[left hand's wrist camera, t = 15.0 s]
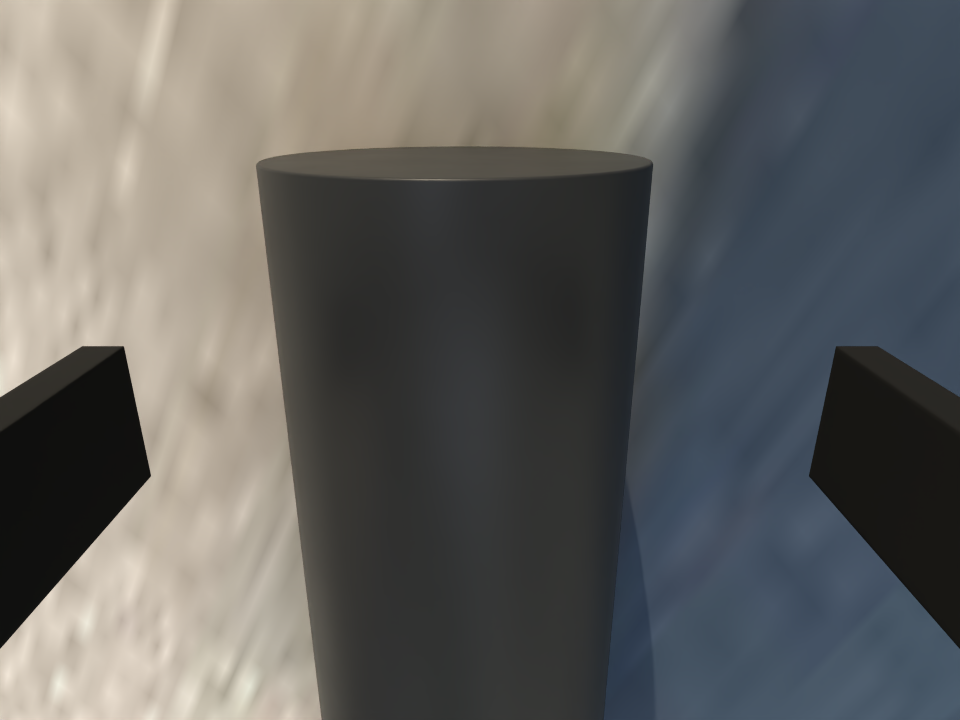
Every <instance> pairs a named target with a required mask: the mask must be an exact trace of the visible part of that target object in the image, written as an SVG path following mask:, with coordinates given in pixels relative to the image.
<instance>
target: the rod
mask: <svg viewBox="0 0 960 720" xmlns="http://www.w3.org/2000/svg"><path fill="white" fill-rule="evenodd" d="M256 169H257V177H258V186H259V194H260V203H261V211H262V220H263V228H264V236H265V245H266V253H267V262H268V270H269V279H270V287H271V296H272V304H273V312H274V321H275V329H276V338H277V346H278V355H279V363H280V371H281V380H282V388H283V397H284V405H285V414H286V422H287V430H288V439H289V447H290V456H291V464H292V473H293V481H294V490H295V498H296V506H297V515H298V523H299V532H300V540H301V549H302V557H303V565H304V574H305V582H306V591H307V599H308V608H309V616H310V624H311V633H312V641H313V650H314V658H315V667H316V675H317V684H318V692H319V700H320V709H321V717H322V720H603V718H604V707H605V696H606V684H607V673H608V662H609V651H610V640H611V629H612V617H613V606H614V595H615V584H616V573H617V562H618V550H619V539H620V528H621V517H622V506H623V495H624V483H625V472H626V461H627V450H628V439H629V428H630V416H631V405H632V394H633V383H634V372H635V360H636V349H637V338H638V327H639V316H640V305H641V293H642V282H643V271H644V260H645V249H646V238H647V226H648V215H649V204H650V193H651V182H652V171H653V163H652V161H651V160H649V159H646V158H643V157H639V156H634V155H628V154H621V153H612V152H602V151H589V150H574V149H554V148H525V147H402V148H373V149H352V150H335V151H321V152H309V153H299V154H291V155H283V156H277V157H272V158H268V159H264V160H262V161H259V162H258V163H257V165H256Z"/></svg>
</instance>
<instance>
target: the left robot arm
mask: <svg viewBox="0 0 960 720" xmlns="http://www.w3.org/2000/svg"><path fill="white" fill-rule="evenodd" d="M150 477H151V474H150V469H149V464H148V459H147V455H146V450H145V445H144V440H143V436H142V431H141V426H140V421H139V416H138V412H137V407H136V402H135V397H134V393H133V388H132V383H131V378H130V373H129V369H128V364H127V359H126V354H125V350H124V346H82V347H81V348H79V349H77V350H76V351H74V352H72V353H71V354H69V355H68V356H66V357H64V358H63V359H61V360H60V361H58V362H56V363H55V364H53V365H52V366H50V367H48V368H47V369H45V370H43V371H42V372H40V373H39V374H37V375H35V376H34V377H32V378H31V379H29V380H27V381H26V382H24V383H23V384H21V385H19V386H18V387H16V388H15V389H13V390H11V391H10V392H8V393H6V394H5V395H3V396H2V397H0V648H1V647H2V646H3V645H4V644H5V643H6V642H7V640H8V639H9V638H10V637H11V636H12V635H13V634H14V632H15V631H16V630H17V629H18V628H19V627H20V626H21V624H22V623H23V622H24V621H25V620H26V619H27V618H28V616H29V615H30V614H31V613H32V612H33V611H34V610H35V608H36V607H37V606H38V605H39V604H40V603H41V601H42V600H43V599H44V598H45V597H46V596H47V595H48V593H49V592H50V591H51V590H52V589H53V588H54V587H55V585H56V584H57V583H58V582H59V581H60V580H61V579H62V577H63V576H64V575H65V574H66V573H67V572H68V571H69V569H70V568H71V567H72V566H73V565H74V564H75V563H76V561H77V560H78V559H79V558H80V557H81V556H82V555H83V553H84V552H85V551H86V550H87V549H88V548H89V547H90V545H91V544H92V543H93V542H94V541H95V540H96V539H97V537H98V536H99V535H100V534H101V533H102V532H103V530H104V529H105V528H106V527H107V526H108V525H109V524H110V522H111V521H112V520H113V519H114V518H115V517H116V516H117V514H118V513H119V512H120V511H121V510H122V509H123V508H124V506H125V505H126V504H127V503H128V502H129V501H130V500H131V498H132V497H133V496H134V495H135V494H136V493H137V492H138V490H139V489H140V488H141V487H142V486H143V485H144V484H145V482H146V481H147V480H148V479H149V478H150ZM809 477H810V478H811V479H812V480H813V481H814V482H815V484H816V485H817V486H818V487H819V488H820V489H821V490H822V492H823V493H824V494H825V495H826V496H827V497H828V498H829V500H830V501H831V502H832V503H833V504H834V505H835V506H836V508H837V509H838V510H839V511H840V512H841V513H842V514H843V516H844V517H845V518H846V519H847V520H848V521H849V522H850V524H851V525H852V526H853V527H854V528H855V529H856V530H857V532H858V533H859V534H860V535H861V536H862V537H863V539H864V540H865V541H866V542H867V543H868V544H869V545H870V547H871V548H872V549H873V550H874V551H875V552H876V553H877V555H878V556H879V557H880V558H881V559H882V560H883V561H884V563H885V564H886V565H887V566H888V567H889V568H890V569H891V571H892V572H893V573H894V574H895V575H896V576H897V577H898V579H899V580H900V581H901V582H902V583H903V584H904V585H905V587H906V588H907V589H908V590H909V591H910V592H911V593H912V595H913V596H914V597H915V598H916V599H917V600H918V601H919V603H920V604H921V605H922V606H923V607H924V608H925V610H926V611H927V612H928V613H929V614H930V615H931V616H932V618H933V619H934V620H935V621H936V622H937V623H938V624H939V626H940V627H941V628H942V629H943V630H944V631H945V632H946V634H947V635H948V636H949V637H950V638H951V639H952V640H953V642H954V643H955V644H956V645H957V646H958V647H959V648H960V397H958V396H957V395H955V394H954V393H952V392H950V391H949V390H947V389H945V388H944V387H942V386H941V385H939V384H937V383H936V382H934V381H933V380H931V379H929V378H928V377H926V376H925V375H923V374H921V373H920V372H918V371H917V370H915V369H913V368H912V367H910V366H908V365H907V364H905V363H904V362H902V361H900V360H899V359H897V358H896V357H894V356H892V355H891V354H889V353H888V352H886V351H884V350H883V349H881V348H879V347H878V346H836V350H835V354H834V359H833V364H832V369H831V373H830V378H829V383H828V388H827V393H826V397H825V402H824V407H823V412H822V416H821V421H820V426H819V431H818V436H817V440H816V445H815V450H814V455H813V459H812V464H811V469H810V474H809Z"/></svg>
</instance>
